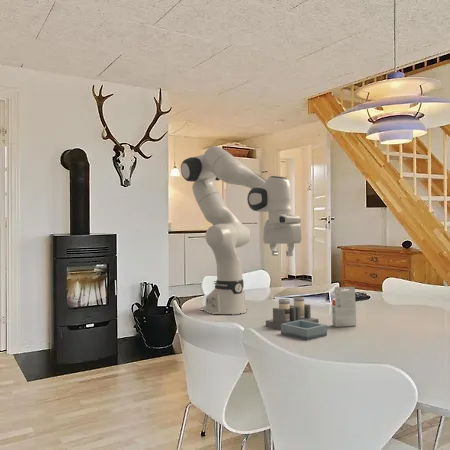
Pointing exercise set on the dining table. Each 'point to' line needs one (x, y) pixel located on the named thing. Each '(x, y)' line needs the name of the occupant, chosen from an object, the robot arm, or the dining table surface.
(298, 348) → the dining table surface
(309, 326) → the parts tray
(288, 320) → the cylinder
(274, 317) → the fuse holder
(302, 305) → the cylinder
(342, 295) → the ink box
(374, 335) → the dining table surface
